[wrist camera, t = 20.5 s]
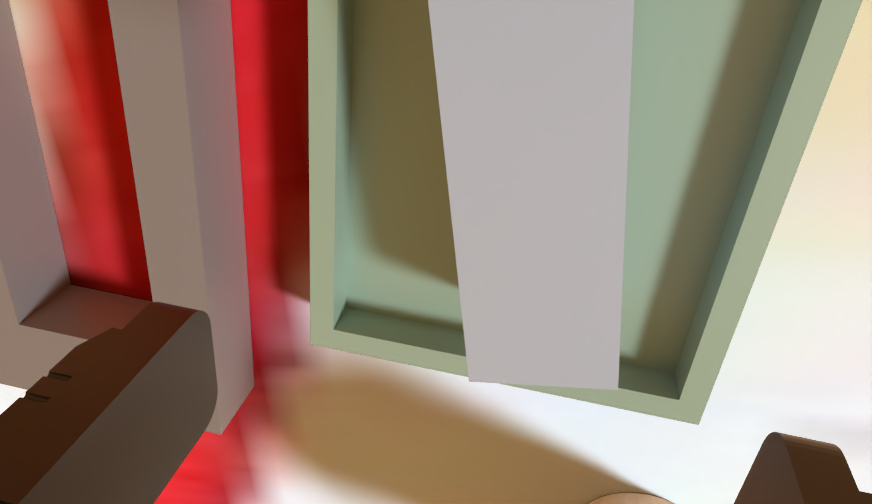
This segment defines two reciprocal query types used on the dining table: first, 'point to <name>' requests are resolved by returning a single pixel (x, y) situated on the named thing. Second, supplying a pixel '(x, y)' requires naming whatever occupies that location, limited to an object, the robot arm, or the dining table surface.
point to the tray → (645, 193)
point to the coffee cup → (629, 499)
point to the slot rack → (156, 193)
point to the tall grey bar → (537, 182)
